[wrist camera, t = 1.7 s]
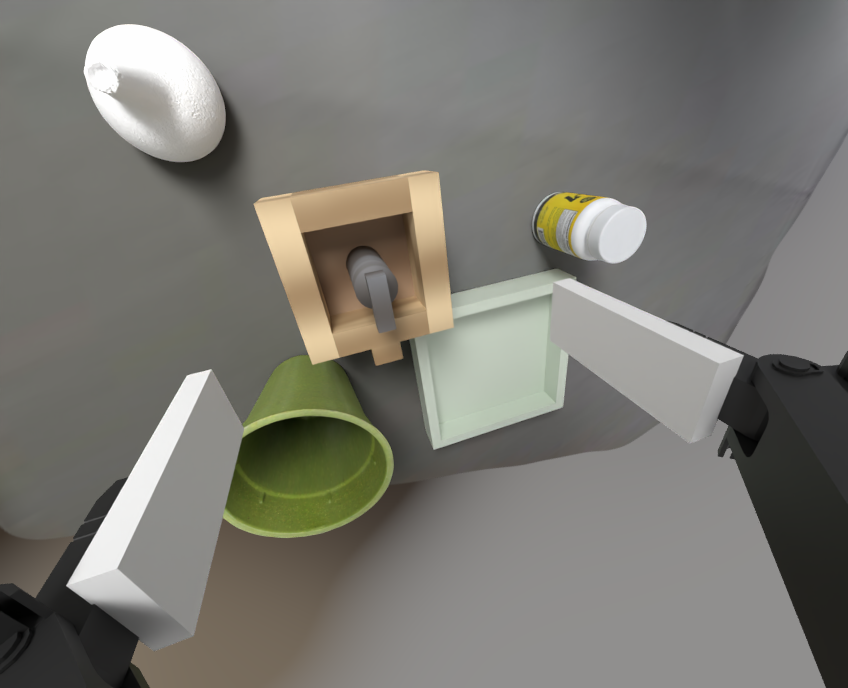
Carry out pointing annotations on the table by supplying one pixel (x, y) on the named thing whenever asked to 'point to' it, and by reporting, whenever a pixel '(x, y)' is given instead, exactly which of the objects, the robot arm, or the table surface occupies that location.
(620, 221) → the supplement bottle
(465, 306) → the tray
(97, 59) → the garlic bulb
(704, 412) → the robot arm
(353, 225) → the wooden block
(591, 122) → the table surface
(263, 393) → the plant pot
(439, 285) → the wooden frame with peg
